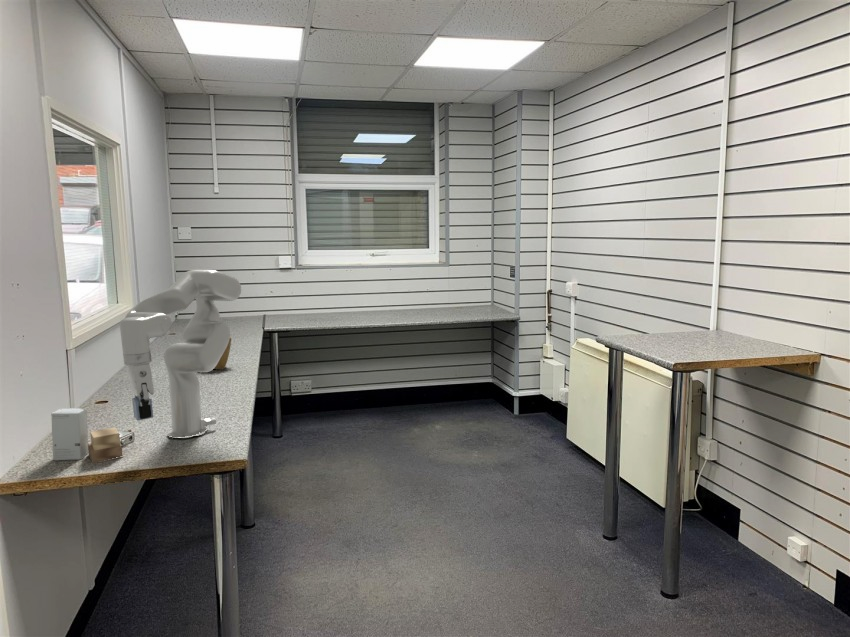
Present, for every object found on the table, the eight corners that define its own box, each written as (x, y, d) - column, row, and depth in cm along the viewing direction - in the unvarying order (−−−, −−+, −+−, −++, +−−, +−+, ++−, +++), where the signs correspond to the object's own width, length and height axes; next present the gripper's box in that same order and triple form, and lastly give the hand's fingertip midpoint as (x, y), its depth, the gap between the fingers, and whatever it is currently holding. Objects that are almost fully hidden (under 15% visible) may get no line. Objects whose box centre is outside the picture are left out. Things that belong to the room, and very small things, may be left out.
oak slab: (116, 439, 188) (115, 427, 187) (120, 445, 182) (119, 433, 182) (91, 444, 184) (90, 431, 183) (94, 450, 178) (93, 437, 178)
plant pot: (227, 371, 298) (225, 340, 296) (197, 371, 298) (196, 340, 296) (236, 365, 313) (235, 335, 311) (208, 365, 313) (206, 335, 311)
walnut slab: (117, 450, 189) (116, 438, 189) (122, 457, 183) (121, 445, 183) (88, 456, 185) (87, 444, 184) (93, 464, 178) (92, 451, 178)
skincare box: (53, 461, 180) (48, 413, 178) (62, 454, 186) (58, 408, 184) (82, 459, 181) (78, 412, 179) (91, 452, 187) (86, 406, 185)
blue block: (149, 413, 186) (147, 395, 185) (153, 417, 182) (151, 398, 181) (134, 416, 183) (132, 398, 182) (137, 420, 179) (135, 401, 178)
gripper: (158, 361, 175) (164, 420, 178) (143, 351, 188) (149, 406, 191) (130, 365, 170) (137, 426, 174) (117, 354, 183) (124, 411, 187)
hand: (143, 415), depth 182 cm, fingers closed on blue block, 4 cm apart
